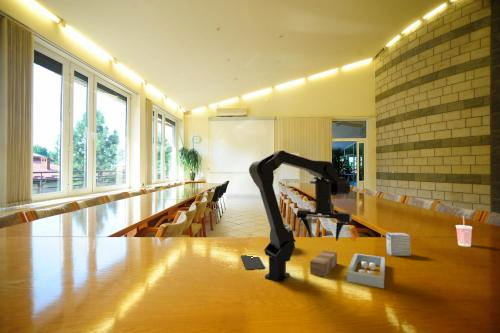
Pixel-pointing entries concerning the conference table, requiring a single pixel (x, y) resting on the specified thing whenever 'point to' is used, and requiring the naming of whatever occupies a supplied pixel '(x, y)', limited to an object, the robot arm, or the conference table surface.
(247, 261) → the phone
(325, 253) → the brown block
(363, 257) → the peg frame
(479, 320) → the conference table surface
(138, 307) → the conference table surface
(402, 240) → the medicine box
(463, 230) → the beverage cup
